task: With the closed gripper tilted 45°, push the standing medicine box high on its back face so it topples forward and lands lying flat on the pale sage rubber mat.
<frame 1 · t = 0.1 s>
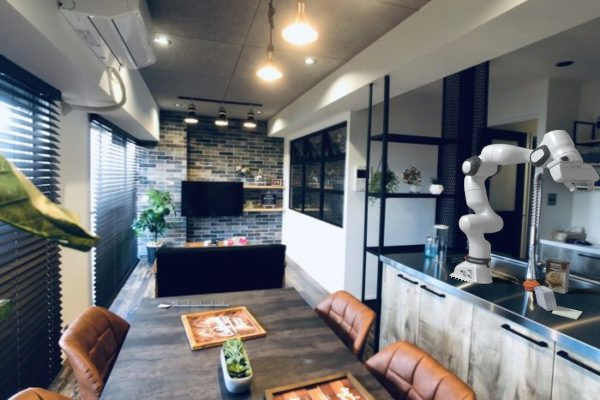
hand: (583, 191, 137), 54 cm above the table, tool tilted 30°, fingers open, 8 cm apart
medicine box: (547, 307, 152), on the table, touching sage mat
sage mat: (567, 313, 146), on the table
coffee box: (556, 290, 178), on the table
pot: (531, 291, 176), on the table
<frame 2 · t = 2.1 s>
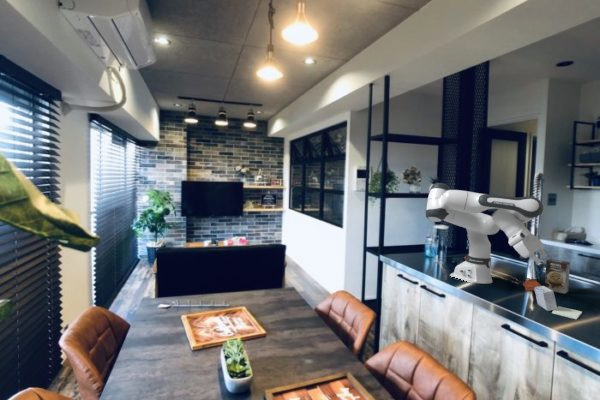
hand: (542, 259, 154), 22 cm above the table, tool tilted 45°, fingers open, 8 cm apart
nothing on the table moved.
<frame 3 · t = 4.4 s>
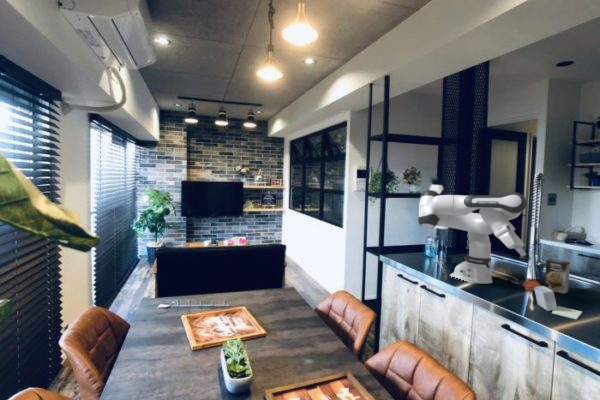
hand: (524, 255, 157), 23 cm above the table, tool tilted 40°, fingers closed
nothing on the table moved.
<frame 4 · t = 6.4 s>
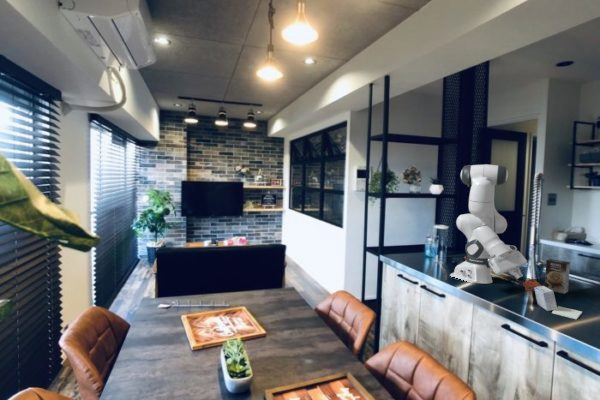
hand: (520, 277, 157), 12 cm above the table, tool tilted 45°, fingers closed
nothing on the table moved.
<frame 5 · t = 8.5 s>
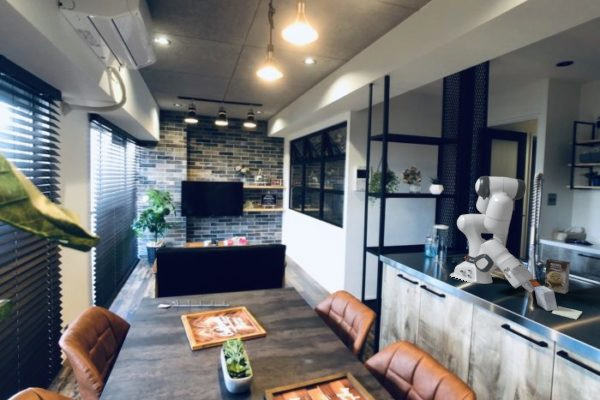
hand: (532, 291, 156), 6 cm above the table, tool tilted 45°, fingers closed
medicine box: (547, 307, 152), on the table, touching gripper, sage mat
everything else where it was.
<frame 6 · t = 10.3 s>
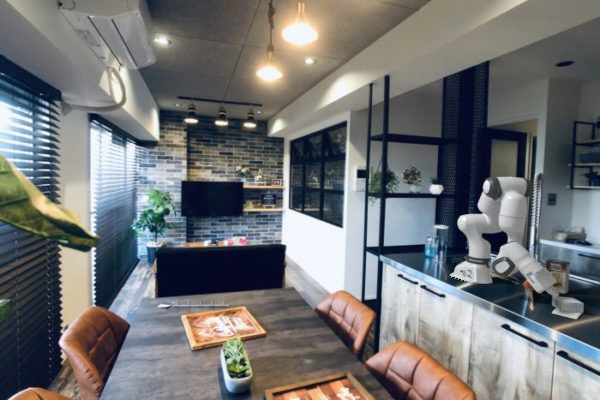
hand: (557, 296, 149), 6 cm above the table, tool tilted 45°, fingers closed
medicine box: (556, 303, 150), point 3 cm above the table, touching sage mat
everything else where it was.
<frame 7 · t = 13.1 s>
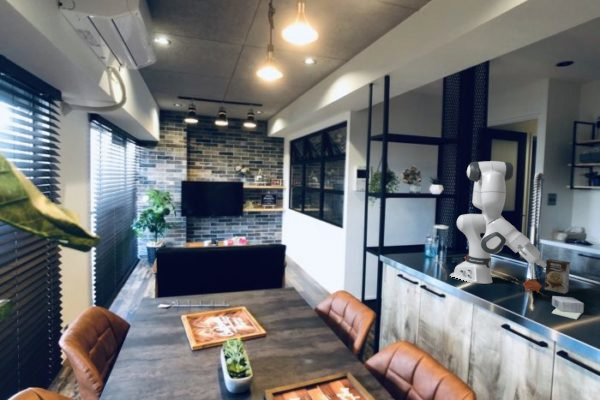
hand: (545, 266, 155), 18 cm above the table, tool tilted 50°, fingers closed
nothing on the table moved.
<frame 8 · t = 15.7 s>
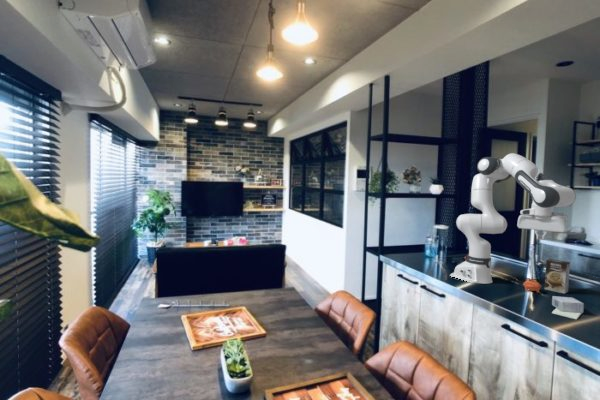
hand: (540, 239, 167), 29 cm above the table, tool pointing down, fingers closed
nothing on the table moved.
at the end: medicine box tilted 90°; medicine box inside the target area (1.6 cm from its centre), point 2.9 cm above the table; medicine box touching sage mat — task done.
